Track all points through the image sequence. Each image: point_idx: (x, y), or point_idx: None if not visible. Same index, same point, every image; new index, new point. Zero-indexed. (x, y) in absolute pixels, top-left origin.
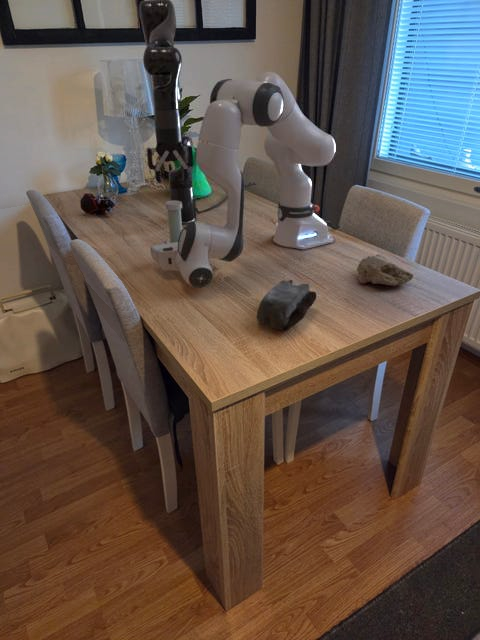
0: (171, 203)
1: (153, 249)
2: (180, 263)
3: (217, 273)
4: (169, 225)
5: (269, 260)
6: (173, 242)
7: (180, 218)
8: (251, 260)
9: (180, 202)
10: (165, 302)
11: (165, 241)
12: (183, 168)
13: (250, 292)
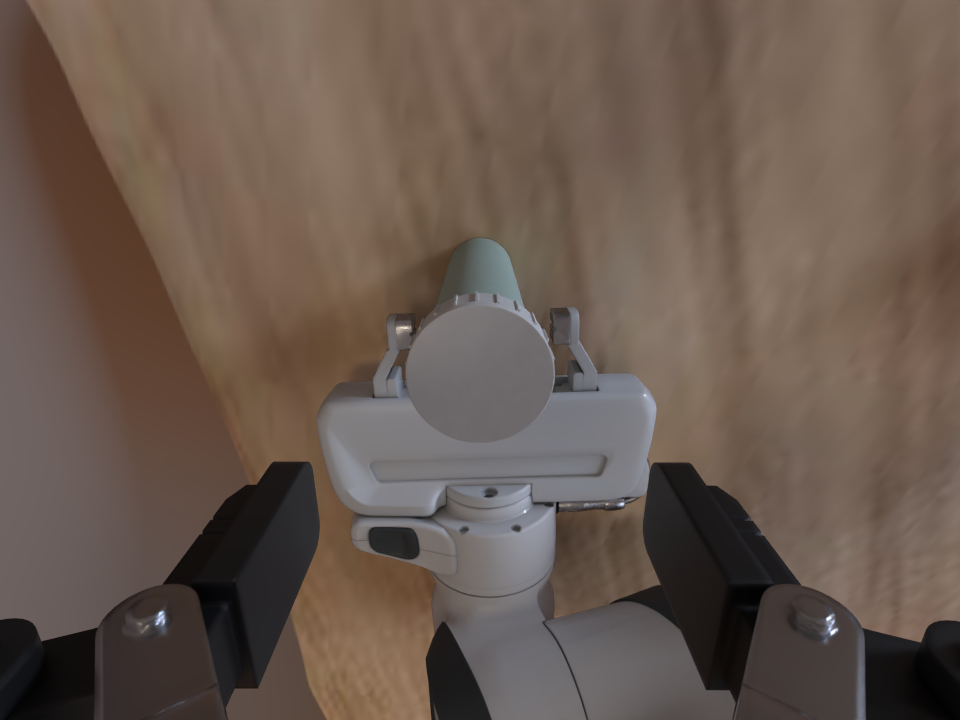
0: (456, 390)
1: (328, 472)
2: (435, 624)
3: None
4: None
5: (865, 435)
6: None
7: None
8: (793, 413)
9: (543, 386)
10: (372, 619)
11: (408, 335)
12: (727, 671)
13: None
